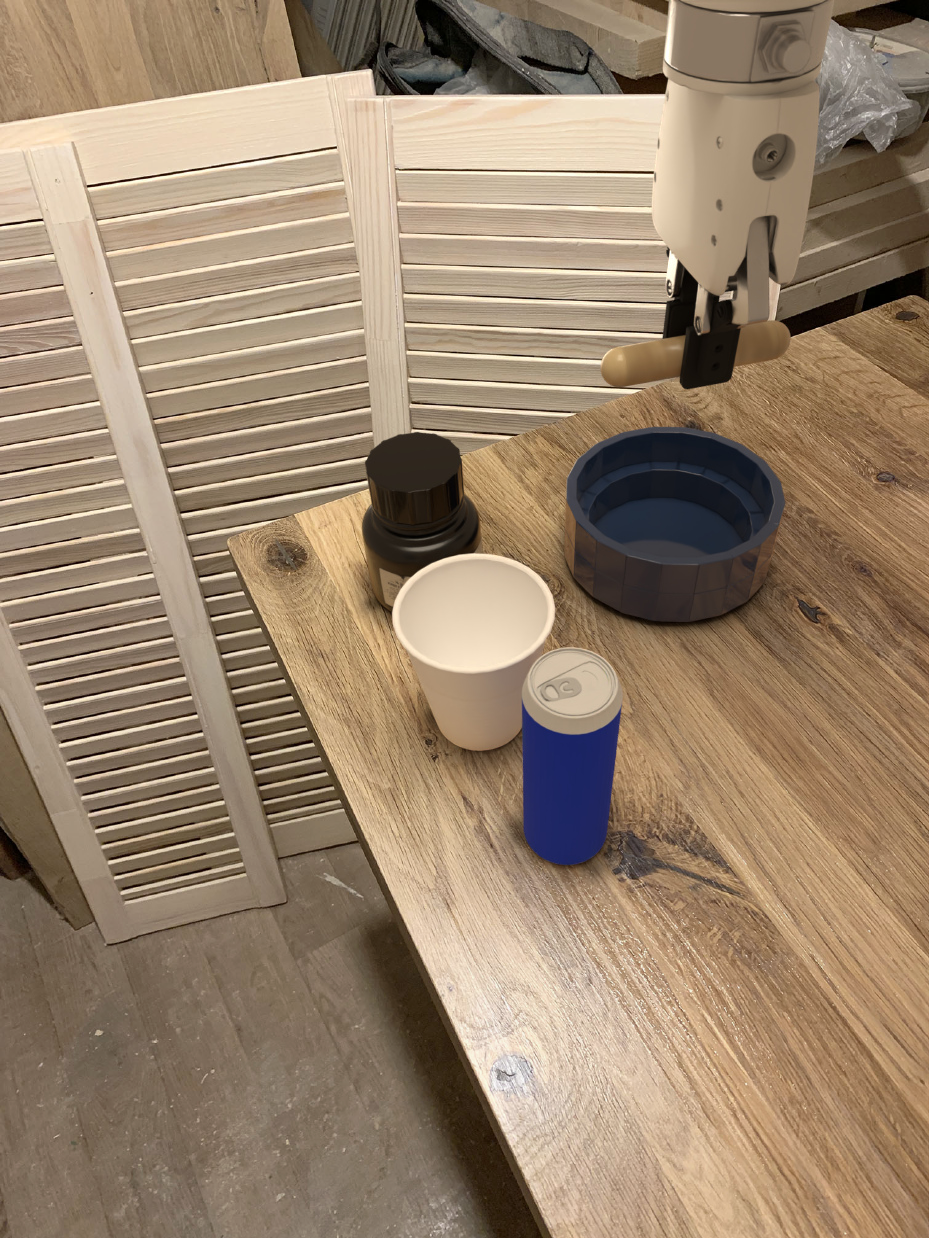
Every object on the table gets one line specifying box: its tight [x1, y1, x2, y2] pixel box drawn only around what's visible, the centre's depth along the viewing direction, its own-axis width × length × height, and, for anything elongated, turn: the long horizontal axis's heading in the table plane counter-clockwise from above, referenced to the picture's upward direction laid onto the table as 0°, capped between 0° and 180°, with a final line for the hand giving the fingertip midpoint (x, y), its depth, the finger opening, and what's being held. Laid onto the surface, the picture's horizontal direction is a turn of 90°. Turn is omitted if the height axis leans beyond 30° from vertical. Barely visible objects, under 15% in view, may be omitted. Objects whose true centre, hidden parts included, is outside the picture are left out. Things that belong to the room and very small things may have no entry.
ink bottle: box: [361, 431, 484, 613], centre depth 69 cm, size 10×9×12 cm
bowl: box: [563, 426, 786, 623], centre depth 72 cm, size 16×16×6 cm
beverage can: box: [521, 646, 624, 866], centre depth 52 cm, size 5×5×15 cm
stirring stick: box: [600, 319, 792, 388], centre depth 57 cm, size 12×2×2 cm, turn 103°
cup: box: [391, 553, 556, 752], centre depth 60 cm, size 10×10×11 cm
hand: (695, 367), depth 58 cm, fingers closed on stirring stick, 2 cm apart
